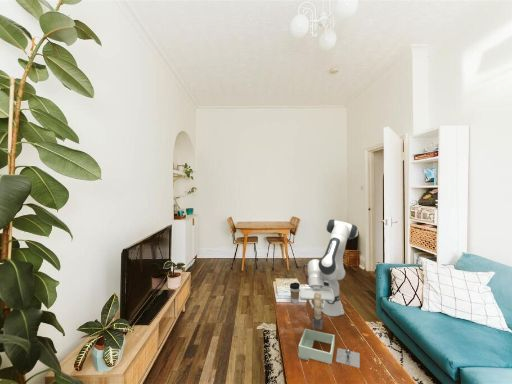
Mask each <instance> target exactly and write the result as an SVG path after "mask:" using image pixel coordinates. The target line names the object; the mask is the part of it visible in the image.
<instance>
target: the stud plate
mask: <svg viewBox="0 0 512 384" xmlns="http://www.w3.org/2000/svg"><path fill="white" fill-rule="evenodd" d="M360 356H361V355H360V352H358V351H357V352H356V351H352V350H350V348H346V349H344V348H341V347H340V348H339V347H337V352H336V358H335V362H337V363H340V364H344V365H348V366H351V367H354V368H359V369H360V366H361V365H360V364H361V363H360V362H361V361H360V360H361V359H360Z"/></svg>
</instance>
